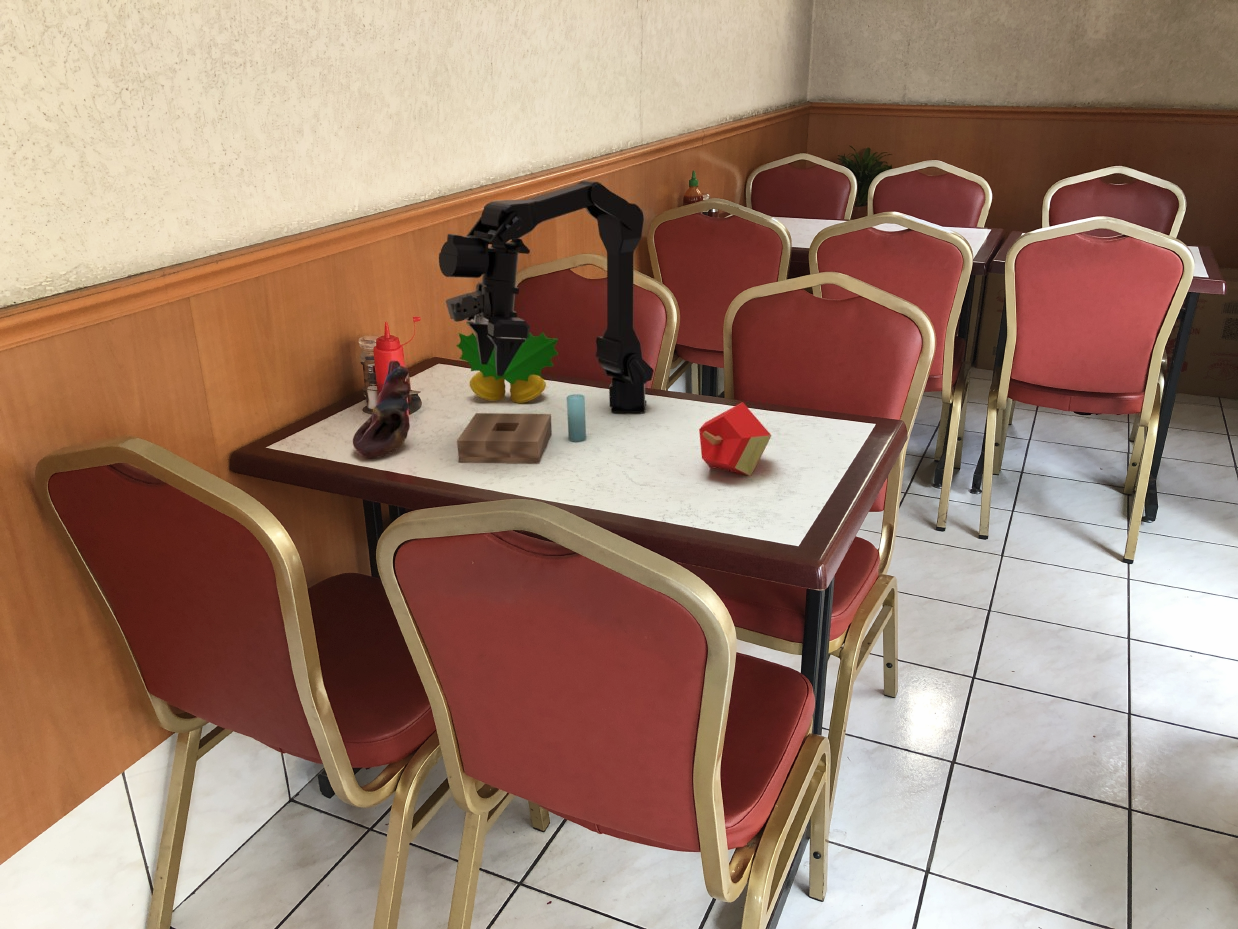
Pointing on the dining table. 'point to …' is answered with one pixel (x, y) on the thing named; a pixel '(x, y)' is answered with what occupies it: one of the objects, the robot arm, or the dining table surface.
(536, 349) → the ornament
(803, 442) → the dining table surface
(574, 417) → the dowel
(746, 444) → the apple
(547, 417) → the hole block
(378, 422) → the anatomical model
